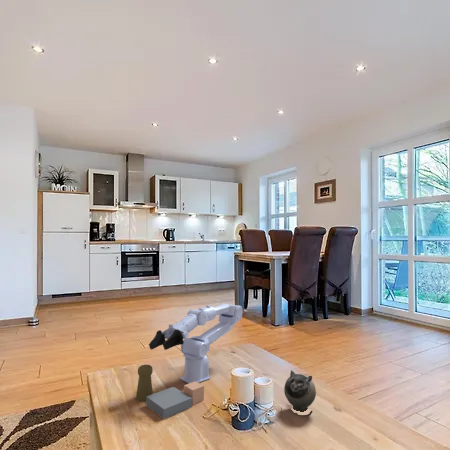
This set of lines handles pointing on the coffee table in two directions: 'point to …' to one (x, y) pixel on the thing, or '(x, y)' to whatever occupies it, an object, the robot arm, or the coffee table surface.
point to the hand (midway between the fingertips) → (157, 347)
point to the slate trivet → (168, 402)
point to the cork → (144, 382)
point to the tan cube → (194, 391)
